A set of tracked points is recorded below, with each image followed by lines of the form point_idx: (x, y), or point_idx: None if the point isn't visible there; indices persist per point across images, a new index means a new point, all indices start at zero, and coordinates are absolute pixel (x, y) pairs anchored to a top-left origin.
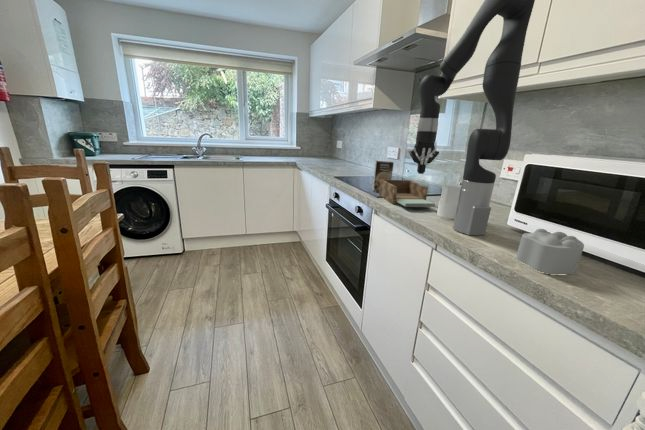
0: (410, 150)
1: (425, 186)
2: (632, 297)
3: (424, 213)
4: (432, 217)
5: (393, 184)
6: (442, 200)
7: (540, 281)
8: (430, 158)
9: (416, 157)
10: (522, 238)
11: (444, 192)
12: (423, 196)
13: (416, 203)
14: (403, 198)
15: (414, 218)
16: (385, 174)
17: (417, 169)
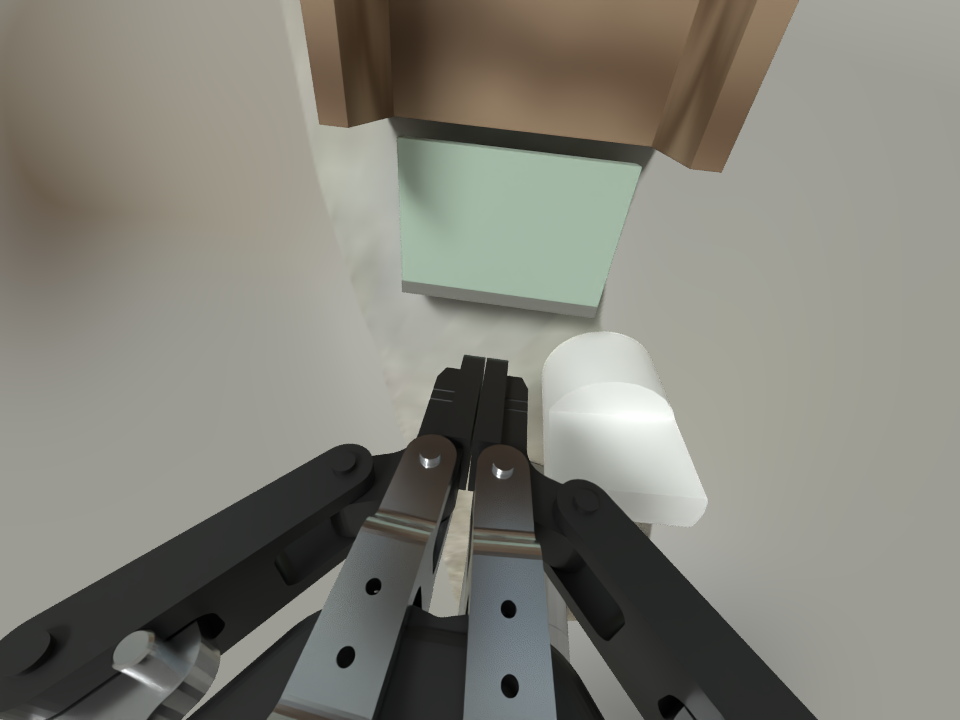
0: (21, 714)
1: (745, 110)
2: None
3: (495, 330)
4: None
5: None
6: (543, 430)
7: (459, 589)
8: (581, 614)
9: (288, 586)
10: None
11: (544, 471)
12: (663, 140)
13: (473, 295)
14: (498, 51)
15: (405, 377)
16: None
17: (434, 389)
